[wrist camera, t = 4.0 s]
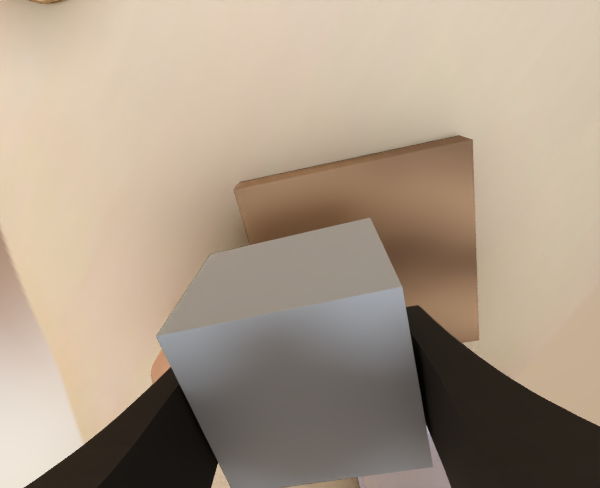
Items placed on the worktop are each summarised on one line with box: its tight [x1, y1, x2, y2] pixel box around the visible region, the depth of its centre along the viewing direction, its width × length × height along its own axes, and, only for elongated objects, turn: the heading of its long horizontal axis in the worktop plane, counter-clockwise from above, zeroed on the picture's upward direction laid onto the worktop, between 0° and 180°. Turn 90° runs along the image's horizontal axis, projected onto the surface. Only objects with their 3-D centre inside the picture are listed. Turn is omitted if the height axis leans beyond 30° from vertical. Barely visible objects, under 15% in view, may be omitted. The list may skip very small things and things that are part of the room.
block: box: [156, 218, 433, 488], centre depth 11 cm, size 6×6×4 cm
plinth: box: [234, 136, 479, 343], centre depth 19 cm, size 11×11×2 cm
